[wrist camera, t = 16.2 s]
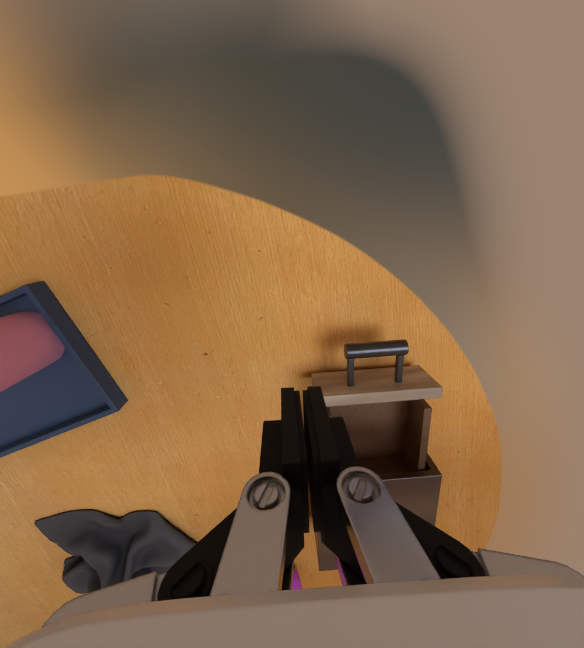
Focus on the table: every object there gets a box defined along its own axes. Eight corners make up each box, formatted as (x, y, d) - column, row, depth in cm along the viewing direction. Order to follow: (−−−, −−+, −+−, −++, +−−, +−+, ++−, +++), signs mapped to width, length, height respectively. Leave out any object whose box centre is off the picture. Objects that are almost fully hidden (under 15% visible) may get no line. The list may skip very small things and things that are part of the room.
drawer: (309, 335, 30) (315, 354, 25) (422, 327, 30) (448, 344, 25) (315, 460, 35) (320, 494, 30) (410, 452, 35) (430, 484, 31)
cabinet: (309, 441, 35) (315, 485, 29) (413, 432, 35) (442, 475, 29) (312, 517, 39) (319, 571, 33) (406, 509, 40) (430, 561, 33)
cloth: (207, 519, 39) (193, 570, 33) (182, 601, 44) (167, 657, 38) (36, 489, 36) (-11, 539, 30) (32, 580, 41) (-9, 638, 35)
